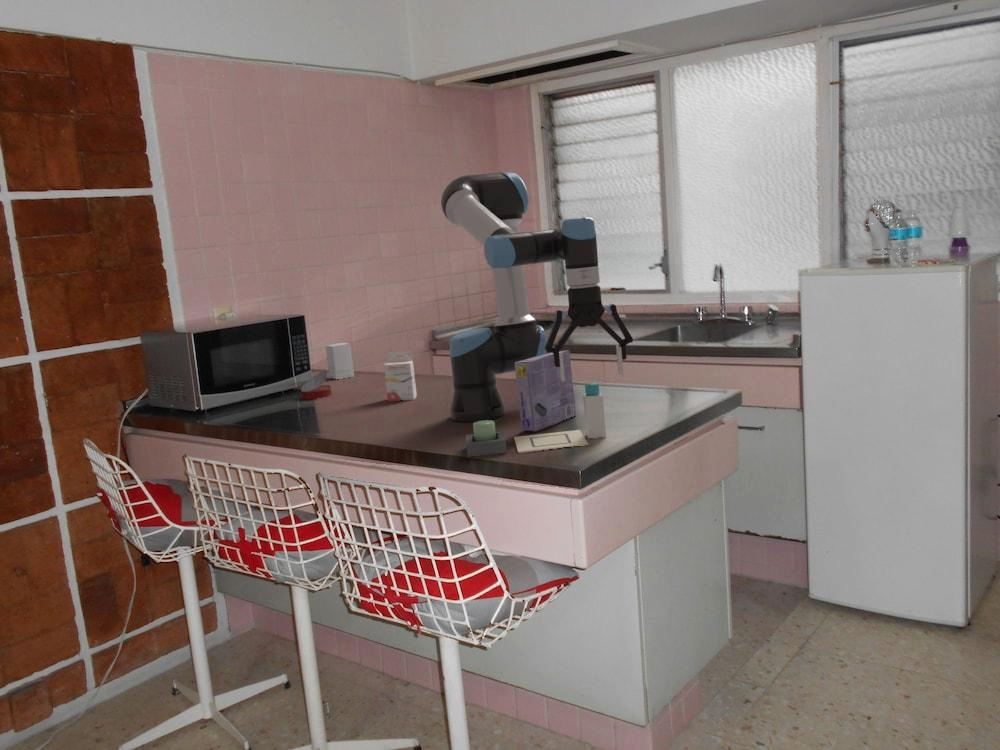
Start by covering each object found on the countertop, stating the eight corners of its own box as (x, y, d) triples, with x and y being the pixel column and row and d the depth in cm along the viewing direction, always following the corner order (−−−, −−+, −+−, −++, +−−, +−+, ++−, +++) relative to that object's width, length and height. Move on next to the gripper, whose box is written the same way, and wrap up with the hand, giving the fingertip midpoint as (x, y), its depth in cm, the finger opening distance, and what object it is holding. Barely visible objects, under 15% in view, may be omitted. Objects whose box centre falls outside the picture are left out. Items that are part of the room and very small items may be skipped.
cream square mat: (514, 438, 216) (514, 436, 216) (580, 431, 216) (579, 429, 216) (518, 453, 202) (518, 451, 202) (588, 445, 202) (588, 443, 202)
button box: (467, 447, 212) (465, 435, 211) (504, 443, 212) (503, 430, 212) (467, 457, 203) (466, 444, 203) (506, 452, 203) (505, 440, 203)
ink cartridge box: (387, 402, 278) (381, 355, 275) (390, 398, 283) (385, 352, 280) (414, 399, 277) (408, 353, 274) (417, 396, 282) (412, 350, 279)
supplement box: (355, 376, 333) (350, 343, 331) (336, 380, 329) (331, 346, 327) (347, 374, 339) (343, 342, 337) (329, 378, 336) (324, 345, 333)
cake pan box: (563, 414, 237) (558, 348, 234) (579, 415, 234) (573, 348, 230) (519, 431, 222) (512, 362, 219) (535, 433, 219) (528, 362, 216)
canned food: (330, 410, 298) (326, 387, 291) (300, 410, 298) (295, 387, 292) (335, 389, 307) (332, 366, 300) (306, 389, 307) (302, 366, 301)
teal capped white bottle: (586, 434, 212) (582, 383, 210) (603, 433, 212) (599, 381, 210) (588, 438, 208) (584, 386, 206) (605, 437, 209) (601, 384, 206)
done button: (474, 440, 210) (472, 421, 209) (495, 438, 210) (494, 419, 209) (475, 445, 205) (473, 426, 204) (496, 443, 205) (494, 424, 204)
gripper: (530, 293, 200) (540, 385, 204) (640, 281, 201) (648, 373, 204) (528, 290, 208) (537, 380, 211) (634, 279, 208) (641, 368, 212)
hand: (591, 377), depth 208 cm, fingers open, 13 cm apart
